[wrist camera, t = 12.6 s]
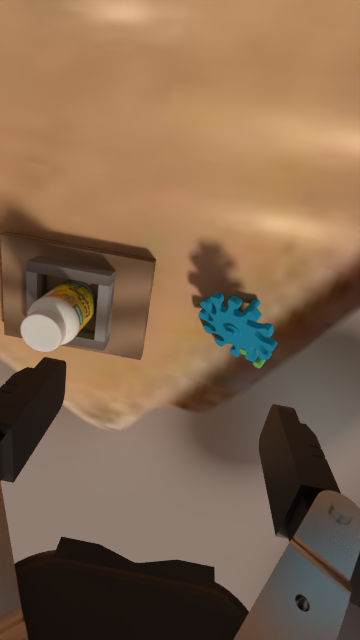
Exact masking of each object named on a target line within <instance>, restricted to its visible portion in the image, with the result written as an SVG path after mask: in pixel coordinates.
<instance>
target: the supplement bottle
mask: <svg viewBox="0 0 360 640" xmlns="http://www.w3.org/2000/svg"><path fill="white" fill-rule="evenodd" d="M96 307H97V301H96V297H95V295H94V293H93V291H92V290H91V289H90V288H89V287H88V286H87V285H85V284H83V283H81V282H78V281H66V282H63V283H61V284H60V285H58V286H57V287H55V288H54V289H53V290H51V291H50V292H48V293H47V294H45V295H44V296H43V297H41V298H39V299H38V300H37V301H35V302H34V303H33V304H32V305H31V307H30V308H29V311H28V314H27V317H26V318H25V319H24V320H23V322H22V324H21V335H22V337H23V339H24V341H25V342H26V343H27V344H28V345H29V346H30V347H31V348H33V349H35V350H38V351H43V352H47V351H51V350H54V349H55V348H57V347H58V346H59V345H63V344H66V343H68V342H70V341H71V340H72V339H73V338H74V337H75V336H76V335H77V334H78V333H79V332H80V330H81V329H82V328H83V327H84V326H85V324H86V323H87V322H88V321H89V320H90V318H91V317H92V316H93V315H94V313H95V311H96Z"/></svg>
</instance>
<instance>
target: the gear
mask: <svg viewBox="0 0 360 640" xmlns="http://www.w3.org/2000/svg"><path fill="white" fill-rule="evenodd" d="M224 299H225V298H224V295H223V294H221V293H214V294H213V295H212V296H211V298H209V297H207V298H205V299H204V300H203V301H202V302H201V303H200V305H201V307H202V308H203V309H202V310H201V311H200V312H199V318H201V319H202V320H205V321H207V322H206V323H205V325H204V329H205V331H206V332H207V333H215V334H218V336H217V337H216V338H215V342H216V343H217V344H218V345H219V346H223V345H224V344H226V343H227V344H232V345H233V346H232V348H231V349H230V350H229V351H230V353H231V354H233V355H234V356H236V357H238V356H239V355H240V353H241V354H243V355H245V358H246V359H247V360H249V361H252V362H253V365H254V366H255V367H257V368H261V366H262V365H263V363H264V362H265V361H266V360H267V359H269V358H270V356H271V355H272V353H271V352H272V351H273V350H274V348H275V347H276V345H277V341H275V340H274V339H271V338H270V336H271V335H272V333H273V326H272V325H271V324H269V323H265V324H261V323H257V322H255V321H257V320H258V319H259V318H260V316H261V313H260V311H259V310H258V309H257V307H258V306H259V305H260V301H259V300H258V299H253V300H252V301H251V303H250V304H249V305H248V306H247V308H246V309H245V310H244V311H243V312H240V311H238V310H237V309H238V308H239V307H240V305H241V304H242V303H243V301H242V300H241V299H240V298H239V297H237V296H235V295H233V296H232V297H231V298H230V299H229V300H228V305H229V308H226V307H225V306H224V305H223V304H222V302H223V300H224ZM213 304H214V305H215V307H216V309H215V308H214V306H213Z"/></svg>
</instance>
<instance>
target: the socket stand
mask: <svg viewBox="0 0 360 640" xmlns="http://www.w3.org/2000/svg"><path fill="white" fill-rule="evenodd" d="M0 240H1V263H2V286H3V309H4V332H5V335H8V336H14V337H19V338H23V337H22V335H21V324H22V322H23V320H24V319H25V318H26V317H27V314H28V311H29V308H30V307H31V305H32V304H33V303H34V302H35V301H37V300H38V299H39V298H41V297H43V296H44V295H45V294H47V293H48V292H50V291H51V290H53V289H54V288H55V287H57V286H58V285H60V284H61V283H63V282H66V281H78V282H81V283H83V284H85V285H87V286H88V287H89V288H90V289H91V290H92V291H93V293H94V295H95V297H96V301H97V307H96V311H95V313H94V315H93V316H92V317H91V318H90V320H89V321H88V322H87V323H86V324H85V326H84V327H83V328H82V329H81V330H80V332H79V333H78V334H77V335H76V336H75V337H74V338H73V339H72V340H71V341H70V342H68V343H66V344H63V345H62V346H68V347H73V348H79V349H84V350H89V351H95V352H100V353H106V354H111V355H116V356H122V357H127V358H133V359H138V360H140V359H141V357H142V354H143V347H144V340H145V333H146V326H147V319H148V312H149V305H150V298H151V291H152V284H153V277H154V270H155V263H156V260H154V259H149V258H144V257H138V256H133V255H127V254H122V253H117V252H111V251H106V250H100V249H95V248H90V247H84V246H79V245H73V244H68V243H63V242H57V241H52V240H46V239H41V238H36V237H30V236H25V235H20V234H14V233H9V232H7V233H3V234H0Z"/></svg>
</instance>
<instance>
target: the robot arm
mask: <svg viewBox="0 0 360 640" xmlns="http://www.w3.org/2000/svg"><path fill="white" fill-rule="evenodd" d="M65 380H66V362H65V361H62V360H57V359H52V358H48V357H44V358H43V359H42V360H41V361H40V362H39V363H38V365H37V366H36V367H35V368H29V367H27V368H25V369H23V370H21V371H19V372H17V373H15V374H13V375H12V376H11V378H9V380H7V381H6V383H5V384H3V386H1V388H0V481H1V480H4V481H8V482H14V481H15V479H16V478H17V476H18V475H19V473H20V472H21V470H22V468H23V467H24V465H25V464H26V462H27V461H28V459H29V457H30V456H31V454H32V453H33V451H34V450H35V448H36V447H37V445H38V443H39V442H40V440H41V439H42V437H43V435H44V434H45V432H46V431H47V429H48V428H49V426H50V425H51V423H52V421H53V420H54V418H55V417H56V415H57V414H58V412H59V410H60V409H61V406H62V404H63V400H64V396H65ZM259 453H260V459H261V464H262V468H263V473H264V479H265V484H266V489H267V494H268V499H269V504H270V509H271V514H272V519H273V524H274V529H275V534H276V536H278V537H283V538H287V539H289V544H288V546H287V548H286V550H285V551H284V553H283V555H282V556H281V558H280V560H279V561H278V563H277V565H276V567H275V568H274V570H273V572H272V574H271V576H270V577H269V579H268V581H267V582H266V584H265V586H264V587H263V589H262V591H261V593H260V594H259V596H258V598H257V600H256V601H255V603H254V605H253V607H252V608H251V610H250V612H249V611H248V610H247V609H246V608H245V606H244V605H243V604H242V603H241V602H240V601H239V600H238V599H237V598H236V597H235V596H234V595H233V594H232V593H231V592H230V591H228V590H227V589H225V588H224V587H222V586H221V585H220V584H218V583H216V582H215V581H214V567H210V566H206V565H201V564H196V563H191V562H186V561H181V560H168V561H158V562H146V563H134V562H132V561H130V560H128V559H126V558H124V557H123V556H121V555H119V554H117V553H115V552H113V551H111V550H109V549H107V548H105V547H103V546H102V545H100V544H95V543H90V542H85V541H80V540H75V539H70V538H65V537H61V539H60V541H59V544H58V546H57V549H56V550H52V551H46V552H42V553H38V554H35V555H32V556H29V557H27V558H25V559H23V560H21V561H18V562H17V563H15V564H14V560H13V554H12V548H11V542H10V536H9V530H8V524H7V518H6V512H5V506H4V500H3V494H2V488H1V482H0V640H336V639H337V636H338V633H339V630H340V627H341V623H342V621H343V617H344V614H345V611H346V608H347V605H348V602H349V601H350V602H351V603H353V604H355V605H357V606H358V607H360V508H359V507H358V506H357V505H356V504H355V503H354V502H353V501H352V500H350V499H349V498H348V497H346V496H344V495H343V494H341V492H340V490H339V488H338V486H337V483H336V481H335V479H334V476H333V474H332V472H331V469H330V467H329V465H328V462H327V460H326V459H325V455H324V453H323V451H322V449H321V446H320V444H319V442H318V439H317V437H316V435H315V434H314V433H313V432H312V431H311V429H310V428H309V427H308V426H307V425H306V424H302V423H300V421H299V419H298V416H297V414H296V411H295V409H294V408H291V407H286V406H280V405H275V404H273V405H272V407H271V408H270V411H269V414H268V416H267V419H266V422H265V424H264V427H263V429H262V432H261V435H260V439H259Z"/></svg>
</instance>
